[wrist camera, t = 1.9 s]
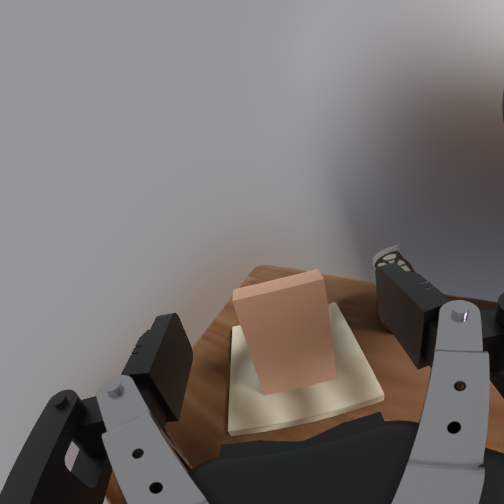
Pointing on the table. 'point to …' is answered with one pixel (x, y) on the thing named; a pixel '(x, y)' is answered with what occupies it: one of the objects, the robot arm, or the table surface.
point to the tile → (287, 331)
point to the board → (302, 399)
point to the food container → (385, 258)
